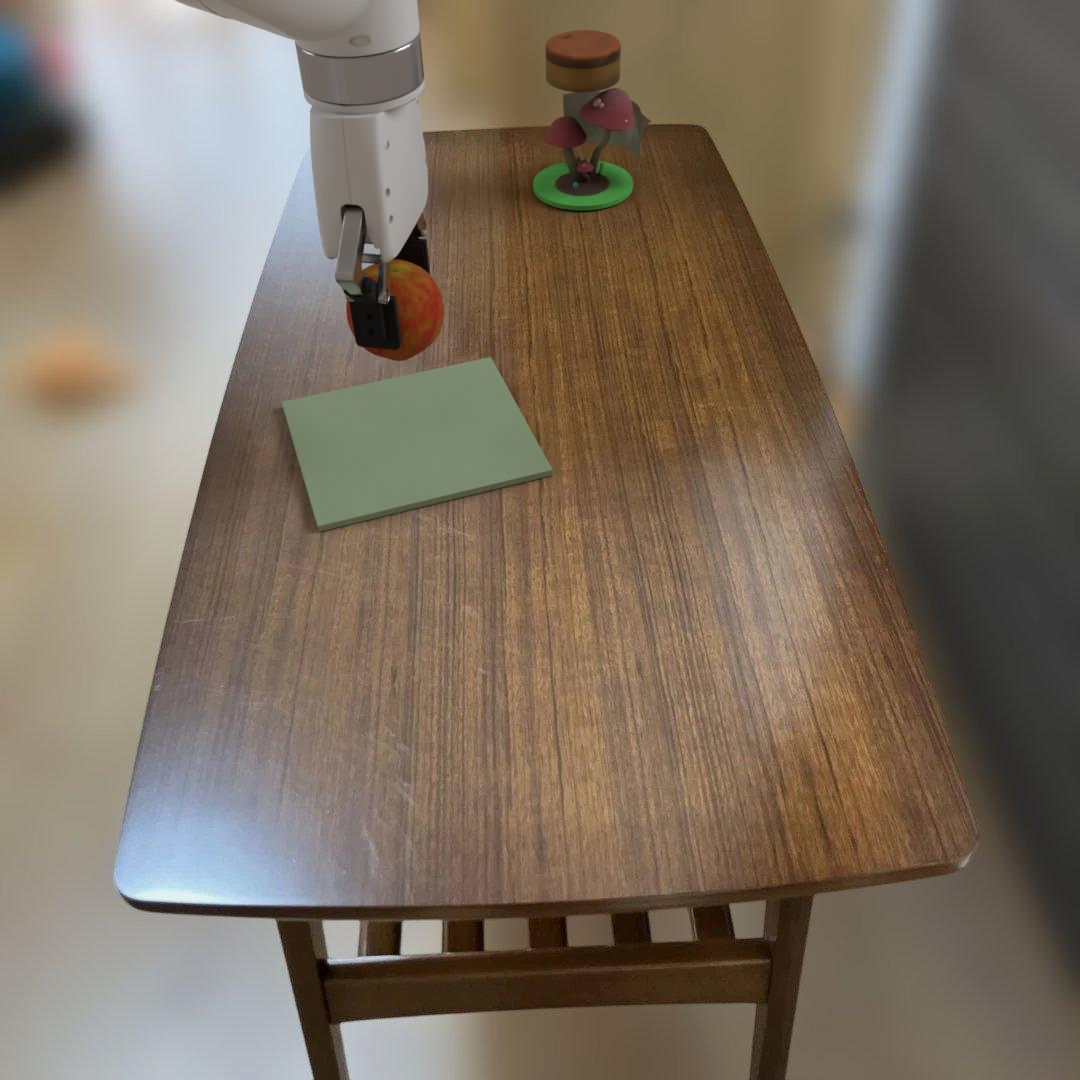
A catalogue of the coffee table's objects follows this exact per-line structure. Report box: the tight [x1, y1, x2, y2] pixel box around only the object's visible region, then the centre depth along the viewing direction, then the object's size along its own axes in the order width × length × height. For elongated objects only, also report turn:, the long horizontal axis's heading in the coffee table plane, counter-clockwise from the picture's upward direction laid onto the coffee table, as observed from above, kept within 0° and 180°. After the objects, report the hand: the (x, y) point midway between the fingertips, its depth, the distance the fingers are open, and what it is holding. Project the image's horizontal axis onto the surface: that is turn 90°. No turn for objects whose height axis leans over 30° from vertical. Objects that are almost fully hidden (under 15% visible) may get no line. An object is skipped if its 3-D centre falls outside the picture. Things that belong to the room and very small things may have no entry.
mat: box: [281, 356, 553, 533], centre depth 88 cm, size 18×16×1 cm
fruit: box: [345, 259, 445, 362], centre depth 80 cm, size 7×7×8 cm
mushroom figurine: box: [532, 29, 652, 212], centre depth 114 cm, size 12×13×15 cm
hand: (395, 314), depth 81 cm, fingers closed on fruit, 7 cm apart
